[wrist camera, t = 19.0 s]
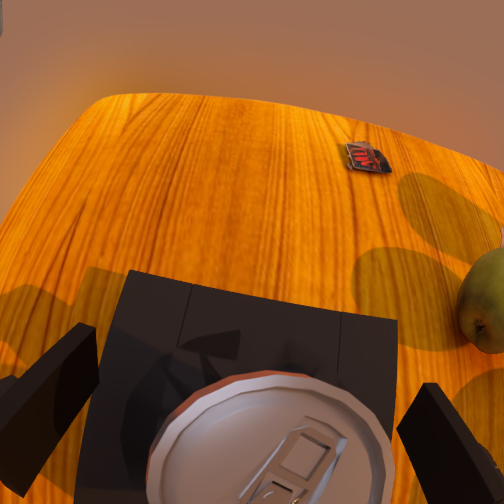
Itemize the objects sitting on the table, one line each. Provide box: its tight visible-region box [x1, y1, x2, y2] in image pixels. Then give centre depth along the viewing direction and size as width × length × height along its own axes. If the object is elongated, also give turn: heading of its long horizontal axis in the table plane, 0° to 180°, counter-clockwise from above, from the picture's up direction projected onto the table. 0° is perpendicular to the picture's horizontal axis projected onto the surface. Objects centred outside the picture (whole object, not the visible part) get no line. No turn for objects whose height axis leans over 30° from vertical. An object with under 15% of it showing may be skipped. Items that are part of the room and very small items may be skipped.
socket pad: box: [73, 270, 398, 504], centre depth 13 cm, size 15×15×4 cm
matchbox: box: [345, 141, 392, 174], centre depth 27 cm, size 5×5×1 cm
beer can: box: [145, 370, 395, 504], centre depth 9 cm, size 5×5×12 cm
